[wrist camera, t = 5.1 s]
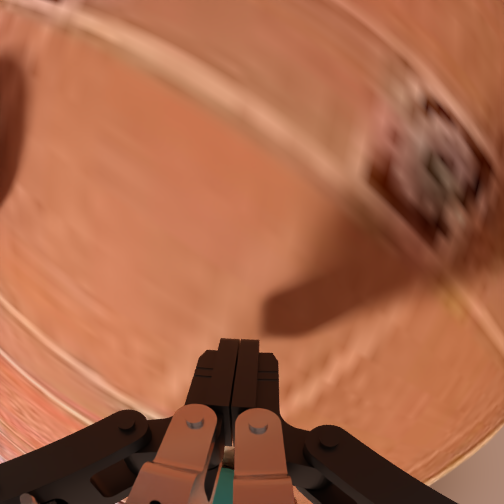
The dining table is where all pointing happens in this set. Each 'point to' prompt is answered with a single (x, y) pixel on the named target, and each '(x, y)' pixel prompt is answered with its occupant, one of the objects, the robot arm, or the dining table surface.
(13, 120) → the dining table surface
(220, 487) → the ball
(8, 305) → the dining table surface
